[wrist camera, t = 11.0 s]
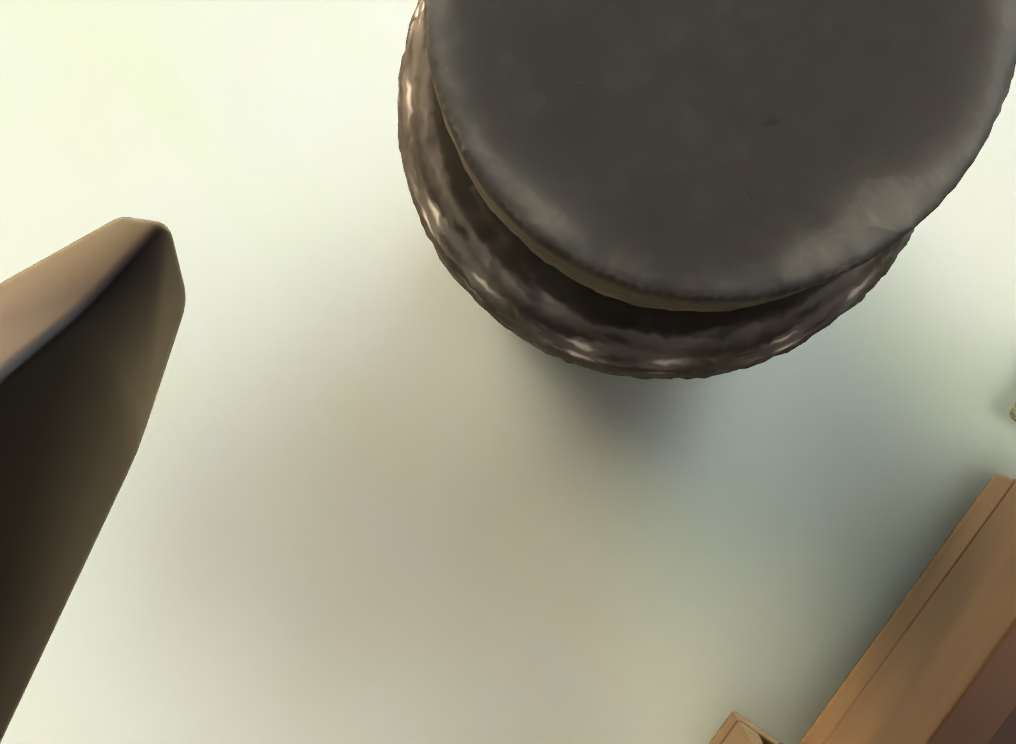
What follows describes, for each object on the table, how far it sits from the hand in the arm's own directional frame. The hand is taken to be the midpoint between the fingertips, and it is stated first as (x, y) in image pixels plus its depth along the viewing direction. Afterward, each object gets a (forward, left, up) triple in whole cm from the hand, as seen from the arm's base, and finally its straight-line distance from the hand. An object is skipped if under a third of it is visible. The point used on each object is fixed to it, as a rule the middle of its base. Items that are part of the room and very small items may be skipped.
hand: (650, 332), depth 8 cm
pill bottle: (+2, +1, -10) cm, 10 cm away
